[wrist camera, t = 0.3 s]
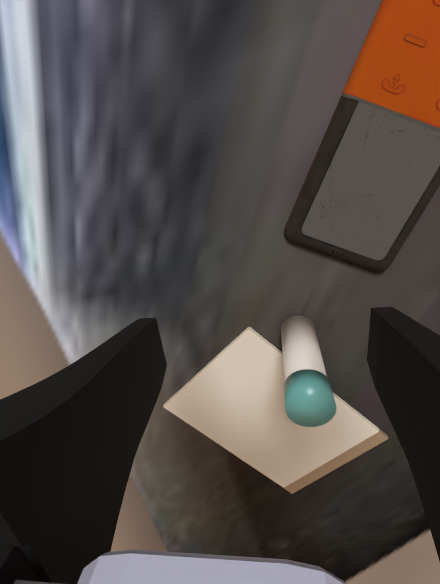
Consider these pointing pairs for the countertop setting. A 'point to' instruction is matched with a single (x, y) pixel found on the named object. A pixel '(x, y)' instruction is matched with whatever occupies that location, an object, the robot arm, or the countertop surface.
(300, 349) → the marker
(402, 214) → the phone
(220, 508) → the countertop surface
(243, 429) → the notepad
